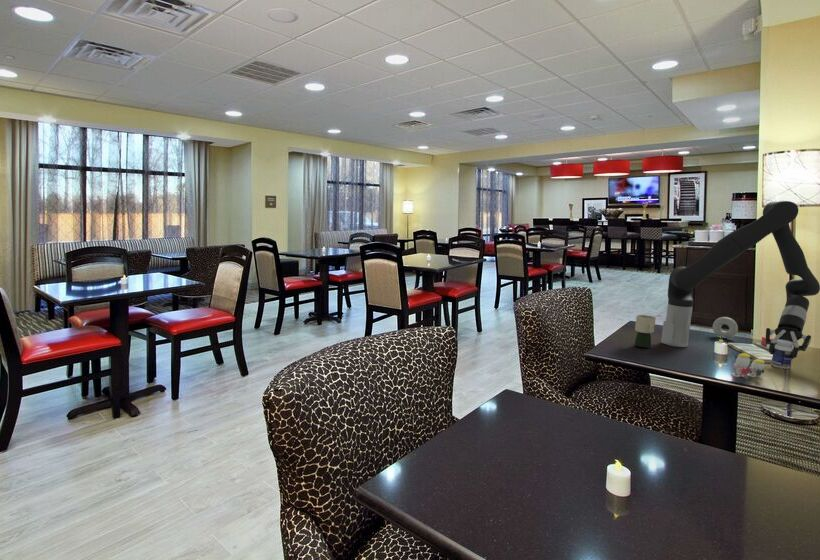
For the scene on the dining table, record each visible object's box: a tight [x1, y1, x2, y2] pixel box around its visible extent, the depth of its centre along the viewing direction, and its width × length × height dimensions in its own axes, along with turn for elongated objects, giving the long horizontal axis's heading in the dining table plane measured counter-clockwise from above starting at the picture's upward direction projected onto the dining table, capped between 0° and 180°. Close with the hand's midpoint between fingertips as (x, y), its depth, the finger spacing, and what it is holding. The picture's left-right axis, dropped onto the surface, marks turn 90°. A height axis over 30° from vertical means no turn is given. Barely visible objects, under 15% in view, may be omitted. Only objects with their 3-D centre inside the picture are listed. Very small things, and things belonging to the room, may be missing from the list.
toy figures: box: [730, 353, 766, 378], centre depth 167 cm, size 12×4×8 cm, turn 97°
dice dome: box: [753, 336, 776, 352], centre depth 201 cm, size 12×7×6 cm, turn 174°
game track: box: [727, 342, 773, 364], centre depth 196 cm, size 23×10×1 cm, turn 174°
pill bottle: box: [770, 340, 793, 370], centre depth 180 cm, size 6×6×10 cm
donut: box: [712, 316, 739, 340], centre depth 218 cm, size 10×4×10 cm, turn 39°
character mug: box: [634, 314, 656, 349], centre depth 198 cm, size 11×7×13 cm, turn 1°
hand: (781, 355), depth 179 cm, fingers closed on pill bottle, 5 cm apart
